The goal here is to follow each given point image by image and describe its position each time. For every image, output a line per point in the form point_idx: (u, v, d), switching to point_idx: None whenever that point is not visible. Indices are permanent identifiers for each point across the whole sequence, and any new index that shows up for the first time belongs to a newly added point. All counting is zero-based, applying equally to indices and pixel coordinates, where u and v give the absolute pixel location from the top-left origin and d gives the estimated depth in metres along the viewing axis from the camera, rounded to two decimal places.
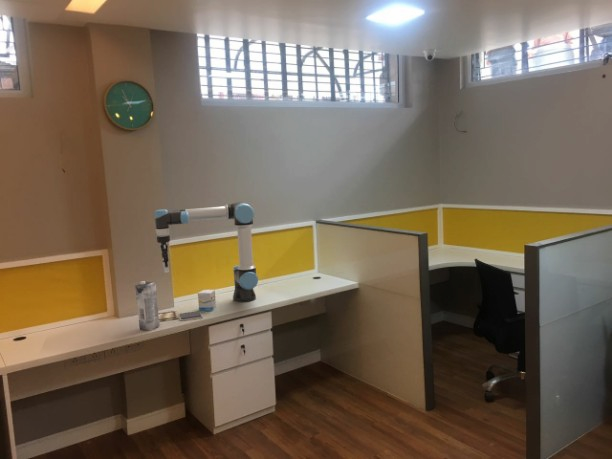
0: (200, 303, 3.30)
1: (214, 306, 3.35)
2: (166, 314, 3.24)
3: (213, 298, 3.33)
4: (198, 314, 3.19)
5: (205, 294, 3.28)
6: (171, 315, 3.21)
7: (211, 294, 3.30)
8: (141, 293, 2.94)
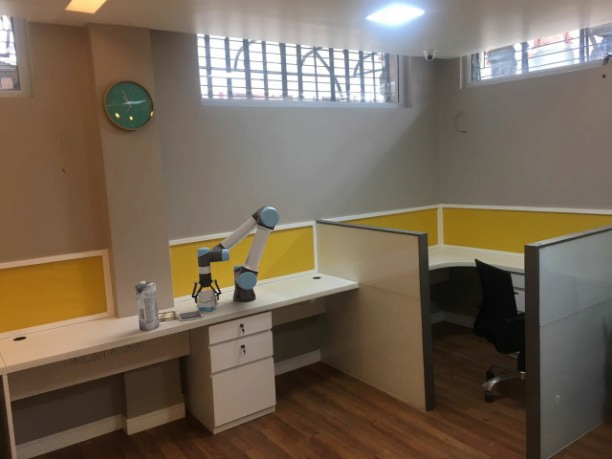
0: (200, 303, 3.30)
1: (214, 306, 3.35)
2: (166, 314, 3.24)
3: (213, 298, 3.33)
4: (198, 314, 3.19)
5: (205, 294, 3.28)
6: (171, 315, 3.21)
7: (211, 294, 3.30)
8: (141, 293, 2.94)
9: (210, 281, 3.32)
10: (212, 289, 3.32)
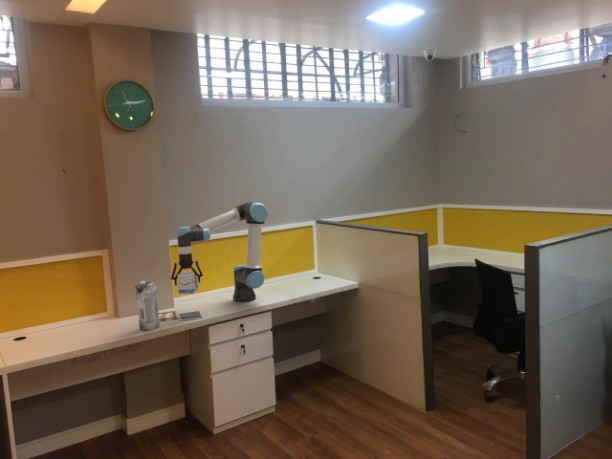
0: (180, 285, 3.14)
1: (195, 288, 3.19)
2: (166, 314, 3.24)
3: (194, 280, 3.16)
4: (198, 314, 3.19)
5: (185, 275, 3.12)
6: (171, 315, 3.21)
7: (192, 276, 3.14)
8: (141, 293, 2.94)
9: (191, 262, 3.15)
10: (193, 271, 3.16)
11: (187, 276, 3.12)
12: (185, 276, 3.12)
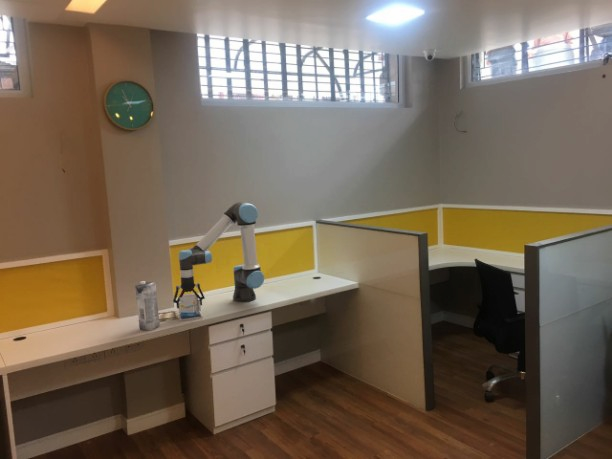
0: (182, 308, 3.16)
1: (197, 311, 3.21)
2: (166, 314, 3.24)
3: (196, 303, 3.18)
4: (198, 314, 3.19)
5: (187, 298, 3.14)
6: (171, 315, 3.21)
7: (194, 299, 3.16)
8: (141, 293, 2.94)
9: (192, 285, 3.17)
10: (195, 293, 3.18)
11: (189, 299, 3.14)
12: (187, 299, 3.14)
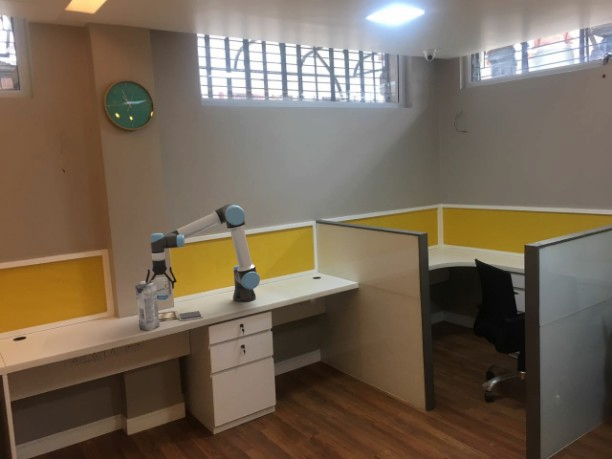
0: None
1: (169, 294, 3.20)
2: (166, 314, 3.24)
3: (167, 286, 3.18)
4: (198, 314, 3.19)
5: (158, 281, 3.14)
6: (171, 315, 3.21)
7: (165, 282, 3.15)
8: (141, 293, 2.94)
9: (164, 268, 3.17)
10: None
11: (160, 282, 3.13)
12: (158, 282, 3.14)
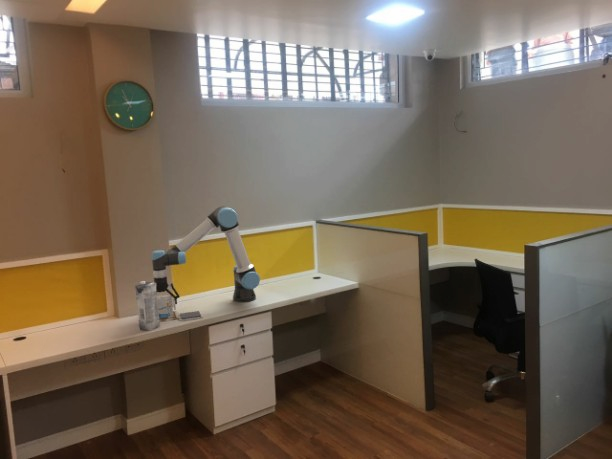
0: None
1: (171, 312, 3.22)
2: None
3: (169, 304, 3.20)
4: (198, 314, 3.19)
5: (161, 300, 3.15)
6: (171, 315, 3.21)
7: (167, 300, 3.17)
8: (141, 293, 2.94)
9: (166, 285, 3.18)
10: (169, 293, 3.19)
11: (162, 301, 3.15)
12: (160, 301, 3.15)
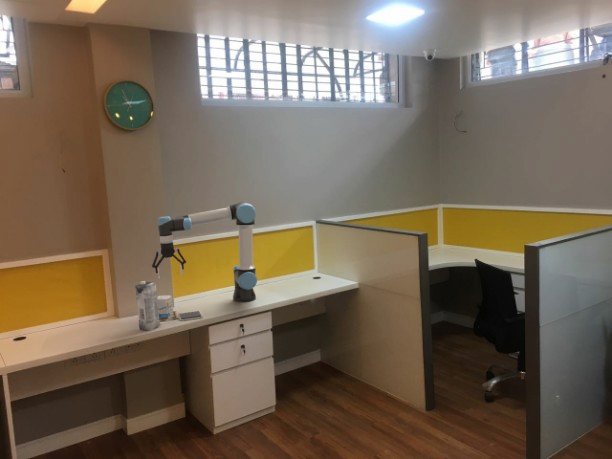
0: None
1: (171, 312, 3.22)
2: None
3: (169, 304, 3.20)
4: (198, 314, 3.19)
5: (161, 300, 3.15)
6: (171, 315, 3.21)
7: (167, 300, 3.17)
8: (141, 293, 2.94)
9: (172, 251, 3.23)
10: (175, 258, 3.24)
11: (162, 301, 3.15)
12: (160, 301, 3.15)
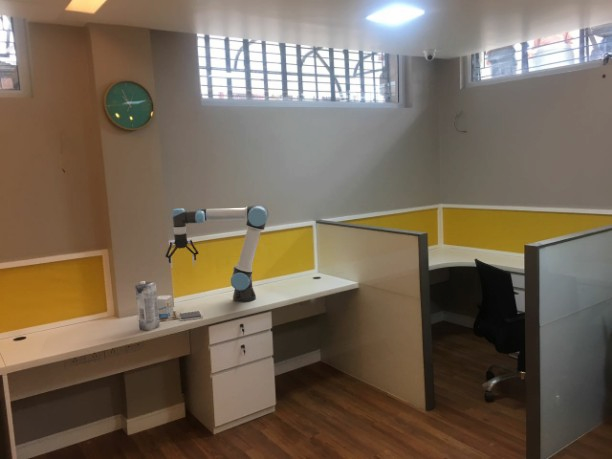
0: None
1: (171, 312, 3.22)
2: None
3: (169, 304, 3.20)
4: (198, 314, 3.19)
5: (161, 300, 3.15)
6: (171, 315, 3.21)
7: (167, 300, 3.17)
8: (141, 293, 2.94)
9: (185, 242, 3.34)
10: (188, 249, 3.35)
11: (162, 301, 3.15)
12: (160, 301, 3.15)
